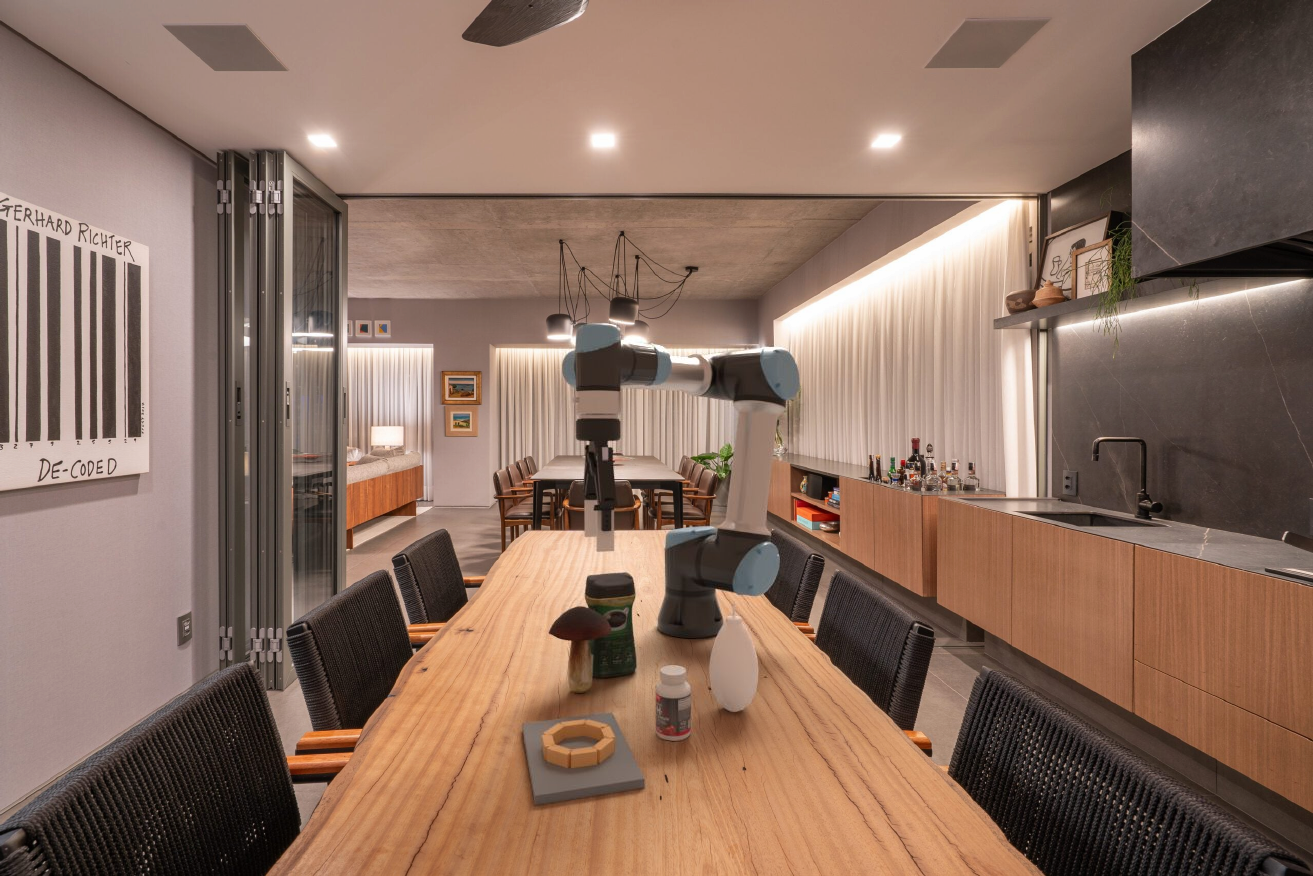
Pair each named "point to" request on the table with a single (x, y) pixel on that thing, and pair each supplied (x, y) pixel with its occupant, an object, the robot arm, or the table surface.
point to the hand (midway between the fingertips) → (598, 543)
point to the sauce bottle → (733, 665)
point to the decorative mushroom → (580, 642)
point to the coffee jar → (612, 623)
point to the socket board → (579, 758)
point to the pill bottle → (673, 704)
